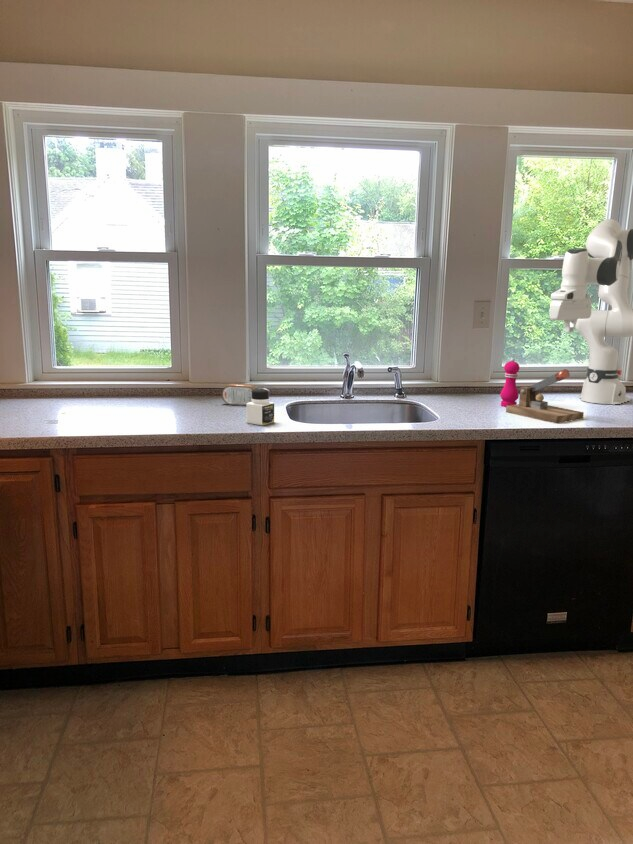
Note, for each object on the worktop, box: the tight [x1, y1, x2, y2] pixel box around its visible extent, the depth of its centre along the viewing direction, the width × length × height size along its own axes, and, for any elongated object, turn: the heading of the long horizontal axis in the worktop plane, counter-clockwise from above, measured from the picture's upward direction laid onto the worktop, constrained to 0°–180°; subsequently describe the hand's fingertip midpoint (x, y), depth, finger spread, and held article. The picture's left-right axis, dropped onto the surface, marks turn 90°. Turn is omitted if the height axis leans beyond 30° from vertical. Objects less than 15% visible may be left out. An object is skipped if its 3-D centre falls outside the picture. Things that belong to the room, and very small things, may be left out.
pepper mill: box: [499, 357, 520, 408], centre depth 258 cm, size 7×7×20 cm
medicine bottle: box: [245, 387, 275, 426], centre depth 221 cm, size 7×7×12 cm
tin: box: [221, 383, 257, 407], centre depth 252 cm, size 15×3×8 cm, turn 80°
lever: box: [528, 368, 571, 394], centre depth 241 cm, size 21×3×3 cm, turn 33°
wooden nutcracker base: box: [505, 385, 584, 424], centre depth 242 cm, size 16×23×10 cm
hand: (569, 331), depth 235 cm, fingers closed
